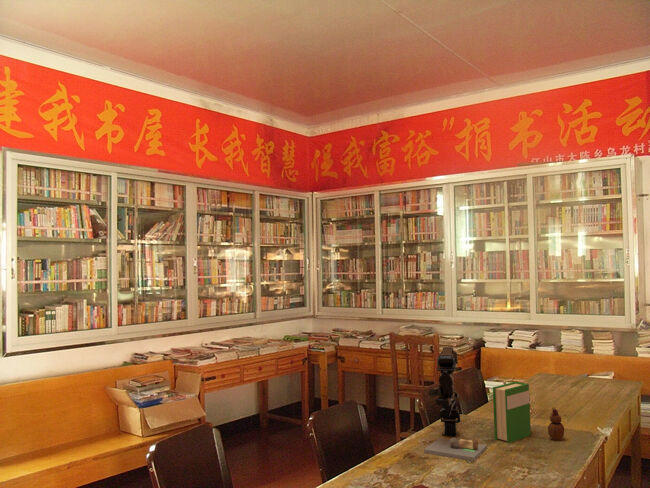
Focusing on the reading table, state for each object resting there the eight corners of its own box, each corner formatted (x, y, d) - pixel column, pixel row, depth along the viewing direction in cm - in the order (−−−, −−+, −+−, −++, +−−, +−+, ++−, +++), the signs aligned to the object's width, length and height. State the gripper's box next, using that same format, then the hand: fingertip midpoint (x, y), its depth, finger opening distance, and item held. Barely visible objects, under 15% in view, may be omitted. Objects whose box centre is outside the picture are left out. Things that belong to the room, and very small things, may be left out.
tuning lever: (449, 446, 243) (448, 437, 244) (452, 443, 247) (451, 434, 248) (476, 450, 238) (476, 441, 238) (479, 447, 242) (478, 438, 242)
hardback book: (508, 443, 252) (506, 389, 253) (494, 439, 258) (492, 387, 259) (530, 435, 263) (528, 383, 264) (517, 431, 269) (514, 381, 270)
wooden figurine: (554, 442, 252) (552, 408, 253) (546, 438, 258) (544, 405, 258) (567, 440, 254) (565, 407, 255) (558, 436, 260) (557, 404, 260)
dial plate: (439, 441, 258) (439, 437, 258) (486, 448, 246) (486, 444, 246) (424, 452, 243) (424, 449, 243) (474, 461, 231) (474, 457, 231)
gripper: (435, 377, 267) (436, 410, 267) (423, 385, 251) (424, 420, 250) (458, 378, 262) (459, 412, 262) (448, 387, 246) (449, 422, 245)
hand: (448, 416), depth 255 cm, fingers closed
